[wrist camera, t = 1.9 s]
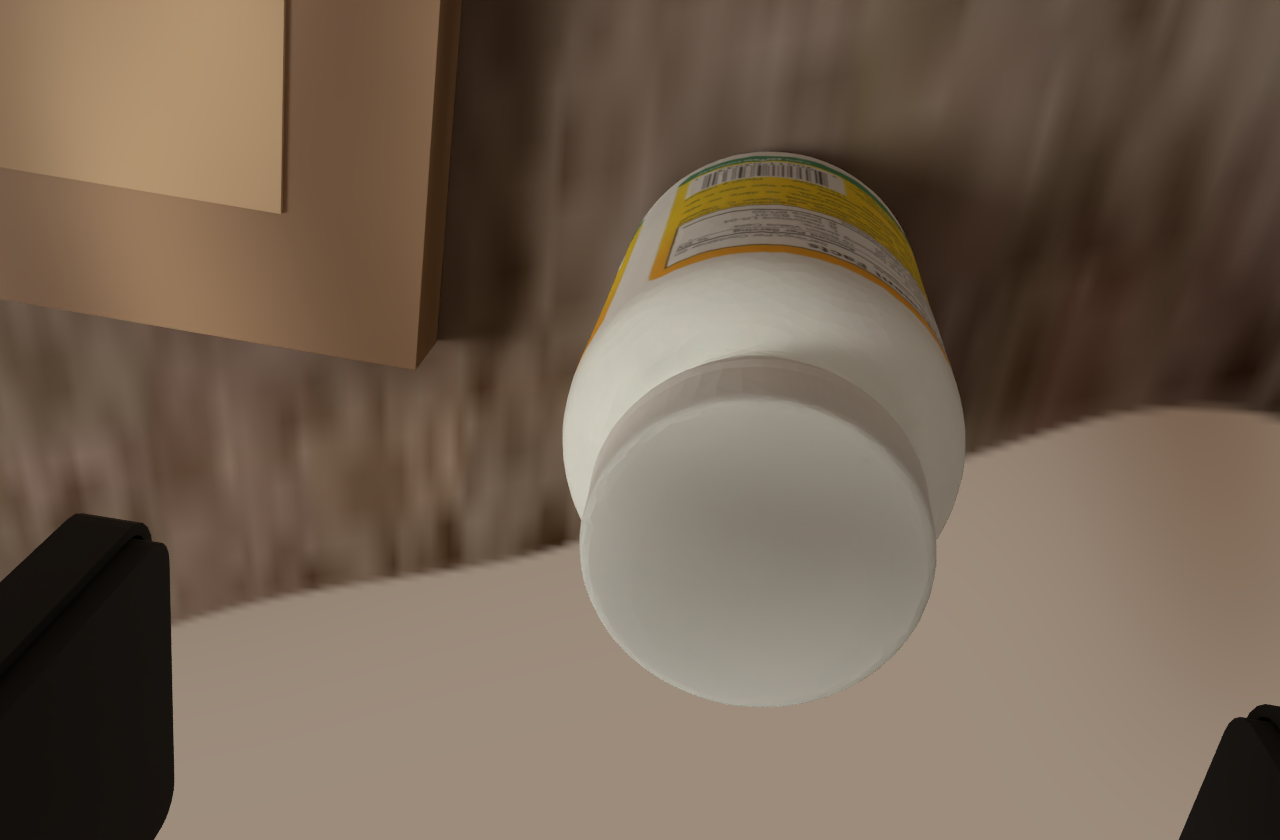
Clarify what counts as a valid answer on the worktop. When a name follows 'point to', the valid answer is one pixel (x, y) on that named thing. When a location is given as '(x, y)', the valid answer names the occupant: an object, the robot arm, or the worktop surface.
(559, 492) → the worktop surface
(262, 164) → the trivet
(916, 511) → the supplement bottle
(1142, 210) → the worktop surface
